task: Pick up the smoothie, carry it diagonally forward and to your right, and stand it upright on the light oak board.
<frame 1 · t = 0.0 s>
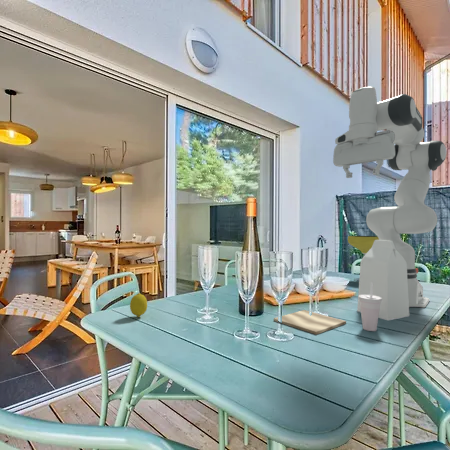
hand: (362, 176, 105), 48 cm above the table, tool pointing down, fingers open, 8 cm apart
lemon: (138, 317, 102), on the table
cocktail glass: (364, 280, 174), on the table
milk: (382, 314, 109), on the table
oak board: (309, 322, 98), on the table
smoothie: (369, 329, 92), on the table
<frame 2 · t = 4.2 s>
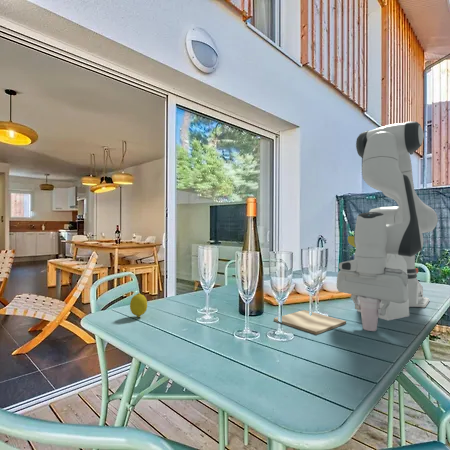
hand: (369, 312, 92), 5 cm above the table, tool pointing down, fingers closed on smoothie, 6 cm apart
smoothie: (369, 329, 92), on the table, touching gripper
everything else where it was.
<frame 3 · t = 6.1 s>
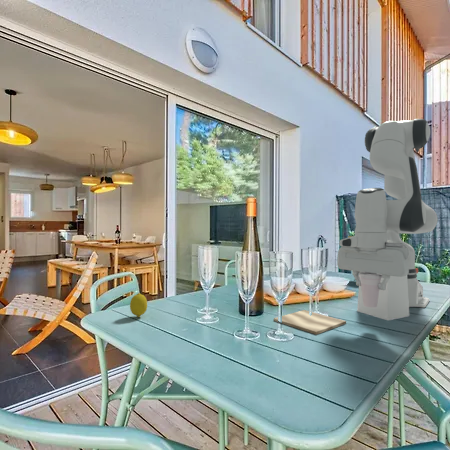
hand: (370, 287, 93), 12 cm above the table, tool pointing down, fingers closed on smoothie, 5 cm apart
smoothie: (370, 306, 93), point 7 cm above the table, touching gripper
everything else where it was.
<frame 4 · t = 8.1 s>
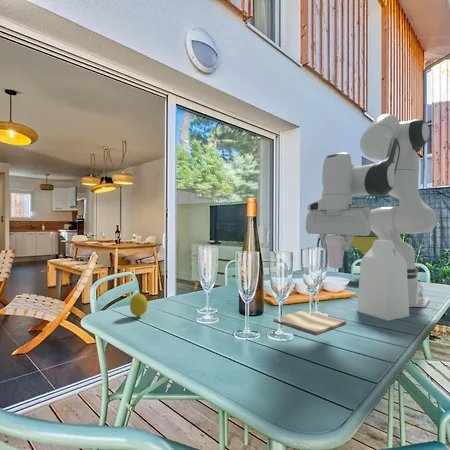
hand: (335, 249, 95), 24 cm above the table, tool pointing down, fingers closed on smoothie, 5 cm apart
smoothie: (335, 267, 95), point 18 cm above the table, touching gripper
everything else where it was.
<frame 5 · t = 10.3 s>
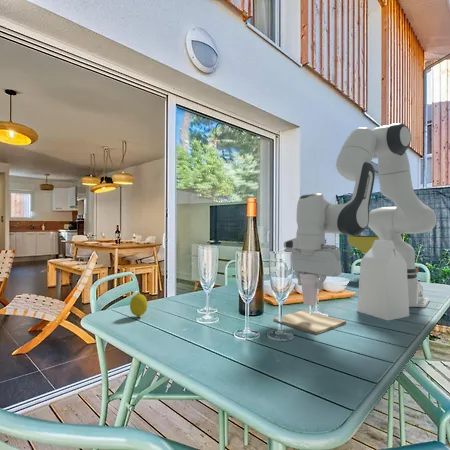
hand: (309, 286, 98), 11 cm above the table, tool pointing down, fingers closed on smoothie, 5 cm apart
smoothie: (309, 304, 98), point 6 cm above the table, touching gripper
everything else where it was.
when the fingers open (7 cm above the table, at t = 12.0 s): smoothie drops 1 cm, resting on oak board.
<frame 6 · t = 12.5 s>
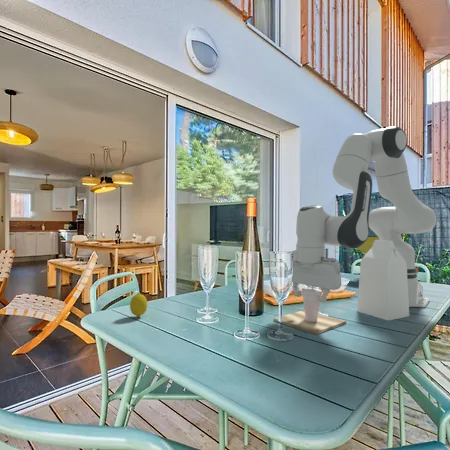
hand: (309, 299, 98), 7 cm above the table, tool pointing down, fingers open, 8 cm apart
smoothie: (311, 320, 98), point 1 cm above the table, touching oak board
everything else where it was.
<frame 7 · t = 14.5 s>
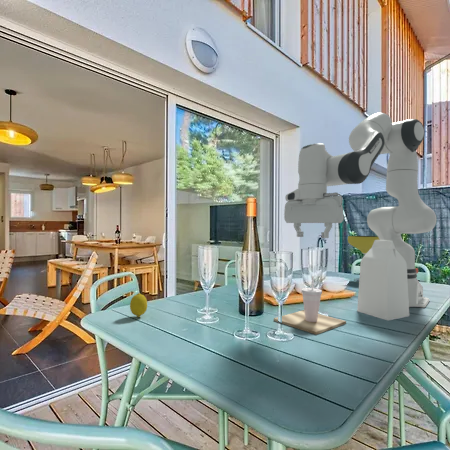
hand: (312, 237, 99), 27 cm above the table, tool pointing down, fingers open, 8 cm apart
nothing on the table moved.
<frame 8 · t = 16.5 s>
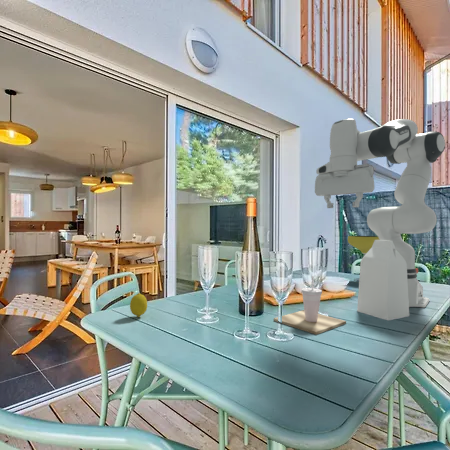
hand: (342, 207, 105), 37 cm above the table, tool pointing down, fingers open, 8 cm apart
nothing on the table moved.
at the end: smoothie inside the target area on the oak board (0.6 cm from its centre), point 0.6 cm above the oak board's base; smoothie tilted 0°; the gripper is holding nothing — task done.
